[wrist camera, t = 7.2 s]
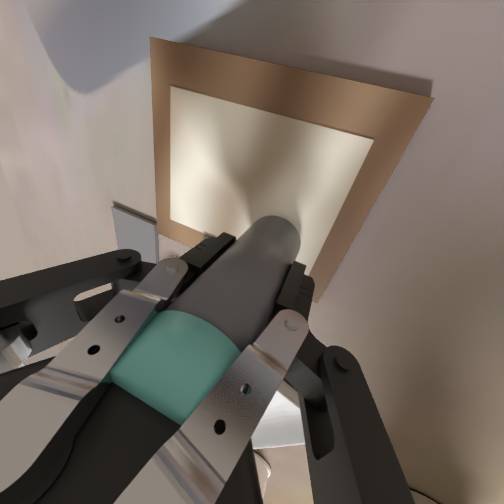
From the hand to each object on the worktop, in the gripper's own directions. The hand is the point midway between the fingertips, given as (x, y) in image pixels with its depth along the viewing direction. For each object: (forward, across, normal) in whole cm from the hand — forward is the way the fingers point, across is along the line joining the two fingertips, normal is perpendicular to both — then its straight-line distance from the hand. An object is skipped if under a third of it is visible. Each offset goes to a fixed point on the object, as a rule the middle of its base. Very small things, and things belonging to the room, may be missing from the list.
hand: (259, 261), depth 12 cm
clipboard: (+4, +3, -2) cm, 6 cm away
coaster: (+4, +13, +6) cm, 15 cm away
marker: (+3, 0, 0) cm, 3 cm away
